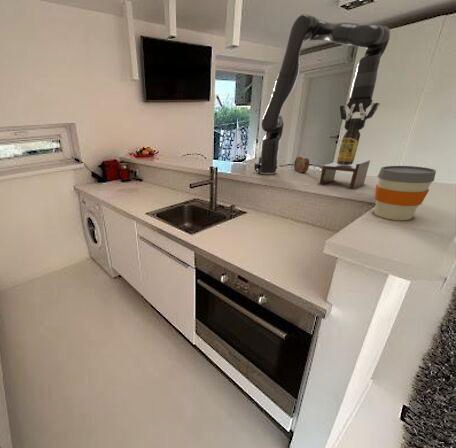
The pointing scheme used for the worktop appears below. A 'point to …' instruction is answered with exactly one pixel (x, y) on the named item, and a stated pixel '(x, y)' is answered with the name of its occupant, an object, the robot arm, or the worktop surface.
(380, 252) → the worktop surface
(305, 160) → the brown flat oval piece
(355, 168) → the shelf
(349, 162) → the sauce bottle
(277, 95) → the robot arm
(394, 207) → the reusable coffee cup
